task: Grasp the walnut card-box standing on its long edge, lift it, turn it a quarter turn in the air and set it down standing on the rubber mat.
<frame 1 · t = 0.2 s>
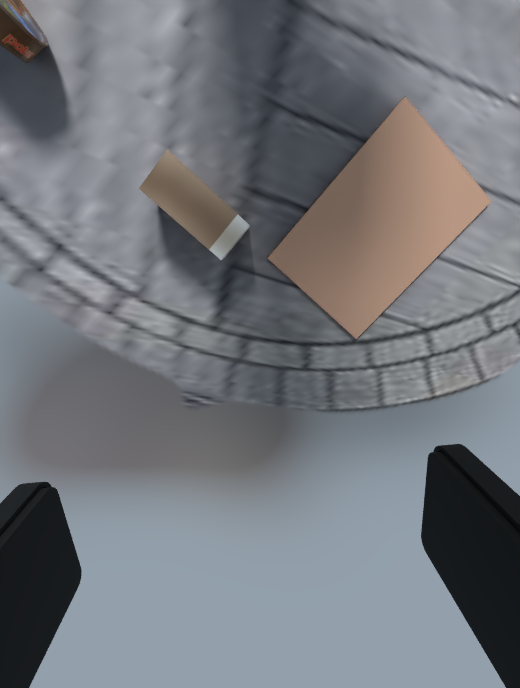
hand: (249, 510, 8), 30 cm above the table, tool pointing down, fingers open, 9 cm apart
card box: (203, 213, 34), on the table
mat: (376, 230, 35), on the table
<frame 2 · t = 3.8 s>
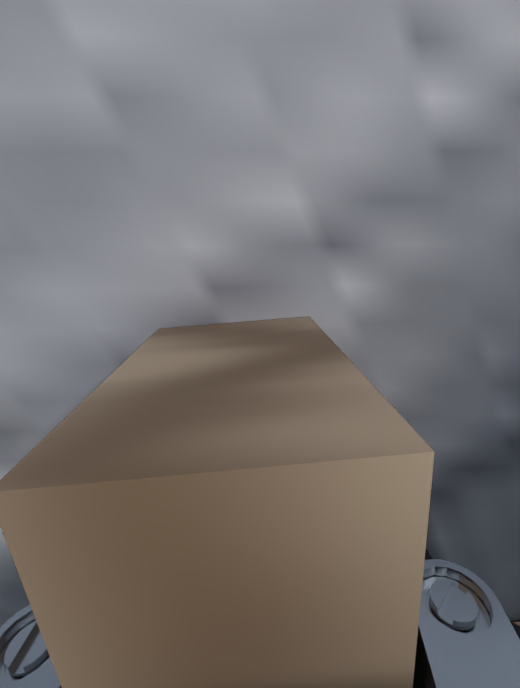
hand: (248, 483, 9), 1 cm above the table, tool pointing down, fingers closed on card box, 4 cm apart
card box: (248, 466, 10), on the table, touching gripper
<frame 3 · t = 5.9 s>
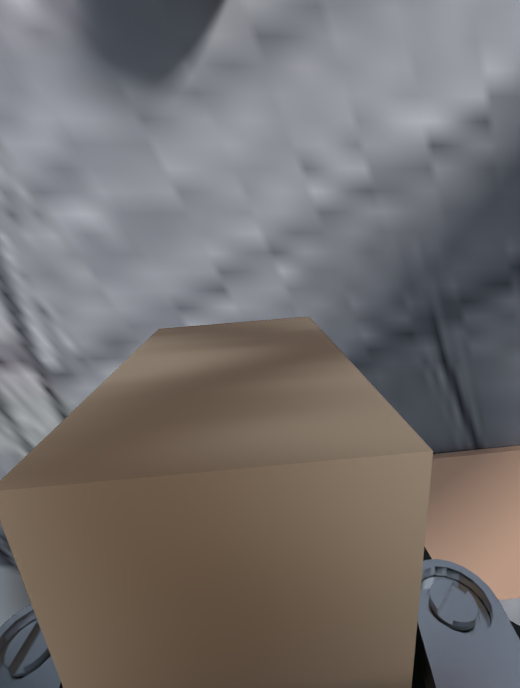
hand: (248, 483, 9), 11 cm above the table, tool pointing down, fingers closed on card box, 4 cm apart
card box: (248, 466, 10), point 10 cm above the table, touching gripper
mat: (402, 536, 25), on the table
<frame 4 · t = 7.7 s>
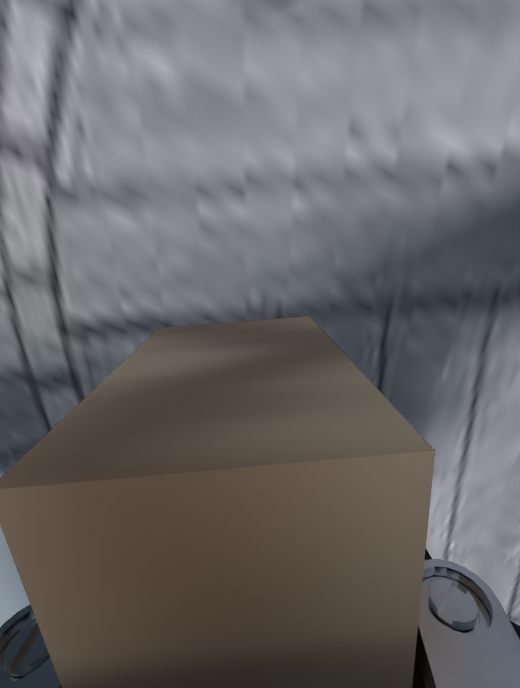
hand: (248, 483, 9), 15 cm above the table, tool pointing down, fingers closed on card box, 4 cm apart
card box: (248, 465, 10), point 15 cm above the table, touching gripper
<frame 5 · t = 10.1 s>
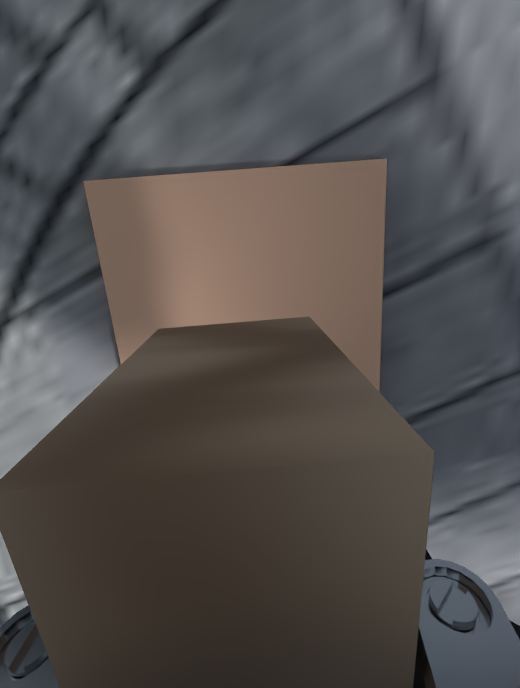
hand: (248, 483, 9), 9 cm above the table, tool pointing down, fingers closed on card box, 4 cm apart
card box: (248, 466, 10), point 9 cm above the table, touching gripper
mat: (253, 369, 18), on the table
when the fingers open (3 cm above the table, at t = 12.0 s): card box drops 1 cm, resting on mat.
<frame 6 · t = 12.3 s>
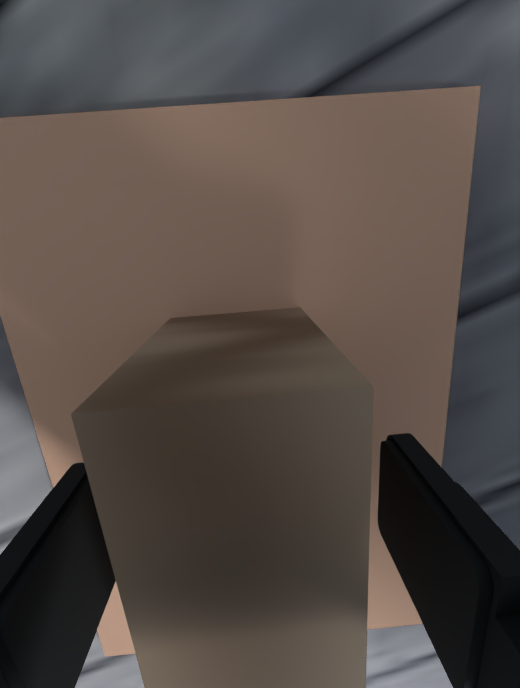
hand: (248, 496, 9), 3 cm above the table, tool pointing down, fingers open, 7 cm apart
card box: (248, 439, 11), resting on mat
mat: (247, 431, 12), on the table
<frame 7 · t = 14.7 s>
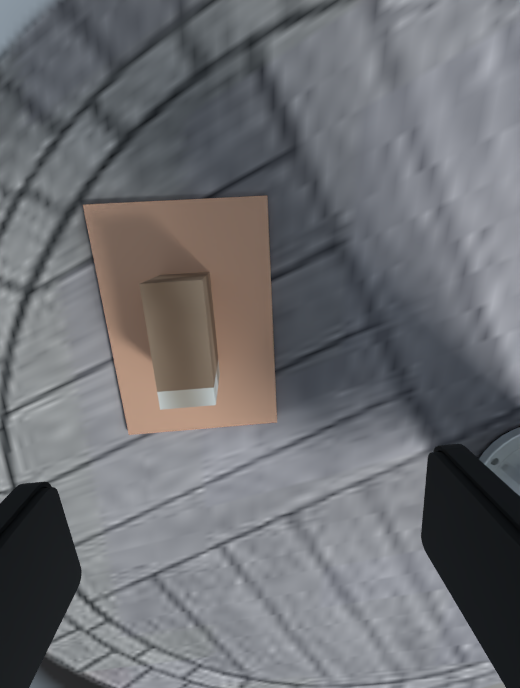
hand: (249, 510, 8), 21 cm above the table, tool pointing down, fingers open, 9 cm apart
card box: (191, 326, 28), resting on mat
mat: (192, 325, 29), on the table
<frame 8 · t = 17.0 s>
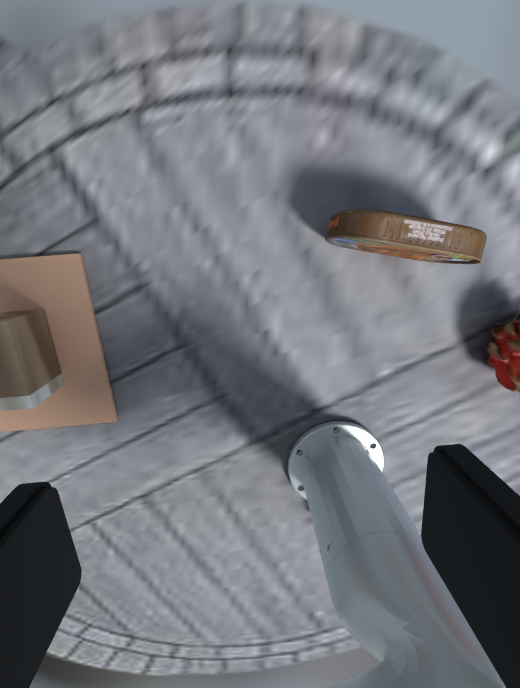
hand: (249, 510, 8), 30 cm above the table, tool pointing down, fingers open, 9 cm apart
card box: (37, 349, 37), resting on mat
mat: (39, 347, 38), on the table
tin: (385, 239, 36), on the table
dragon fruit: (508, 348, 41), on the table
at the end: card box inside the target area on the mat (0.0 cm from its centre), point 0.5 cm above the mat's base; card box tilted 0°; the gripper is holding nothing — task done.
